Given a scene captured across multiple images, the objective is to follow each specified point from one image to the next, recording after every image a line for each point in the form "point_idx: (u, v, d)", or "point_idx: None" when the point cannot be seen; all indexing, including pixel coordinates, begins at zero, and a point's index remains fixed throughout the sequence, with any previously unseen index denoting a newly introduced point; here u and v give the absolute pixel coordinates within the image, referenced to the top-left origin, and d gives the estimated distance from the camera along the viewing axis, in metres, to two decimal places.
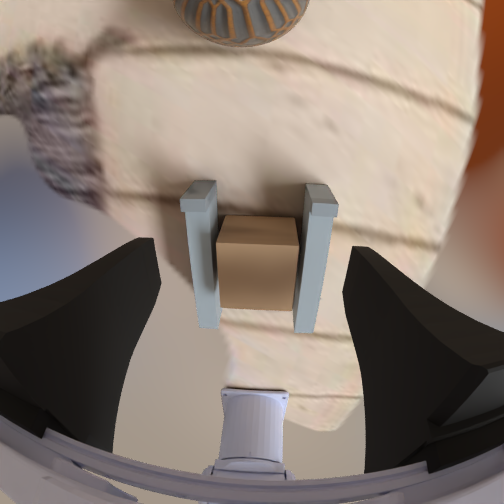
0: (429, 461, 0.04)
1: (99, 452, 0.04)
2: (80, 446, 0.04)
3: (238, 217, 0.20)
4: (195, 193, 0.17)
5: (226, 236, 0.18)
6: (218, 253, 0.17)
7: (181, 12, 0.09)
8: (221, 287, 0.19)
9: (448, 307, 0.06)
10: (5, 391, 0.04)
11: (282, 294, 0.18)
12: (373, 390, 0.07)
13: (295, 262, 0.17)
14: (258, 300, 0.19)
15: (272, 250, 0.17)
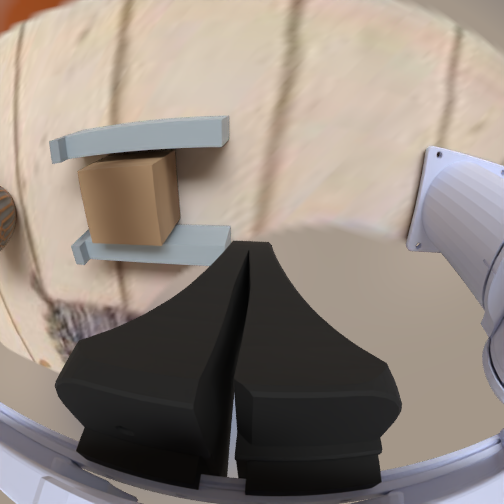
0: (246, 481, 0.04)
1: None
2: None
3: None
4: None
5: None
6: (101, 241, 0.17)
7: None
8: (135, 242, 0.16)
9: (307, 309, 0.06)
10: (131, 442, 0.04)
11: (129, 178, 0.14)
12: None
13: (92, 171, 0.14)
14: (142, 205, 0.15)
15: (86, 195, 0.15)
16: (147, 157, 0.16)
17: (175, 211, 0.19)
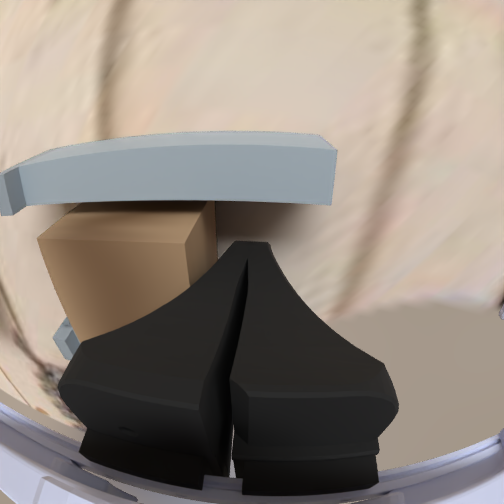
0: (243, 480, 0.04)
1: None
2: (80, 446, 0.04)
3: None
4: None
5: None
6: None
7: None
8: None
9: (304, 309, 0.06)
10: (134, 443, 0.04)
11: (136, 264, 0.07)
12: None
13: (62, 242, 0.07)
14: None
15: (58, 280, 0.08)
16: (167, 209, 0.09)
17: None
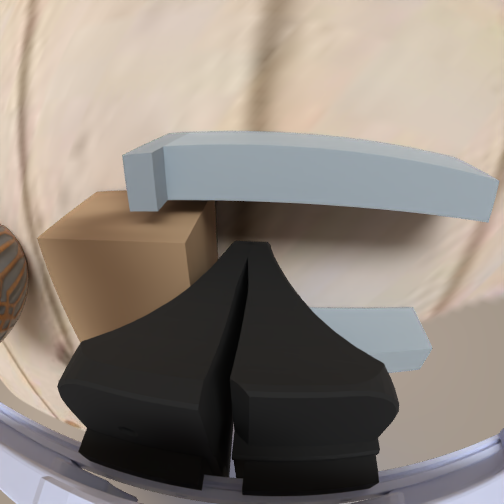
0: (243, 480, 0.04)
1: None
2: (80, 446, 0.04)
3: None
4: None
5: None
6: None
7: None
8: None
9: (305, 309, 0.06)
10: (134, 443, 0.04)
11: (136, 264, 0.07)
12: None
13: (62, 242, 0.07)
14: None
15: (58, 280, 0.08)
16: (167, 209, 0.09)
17: None
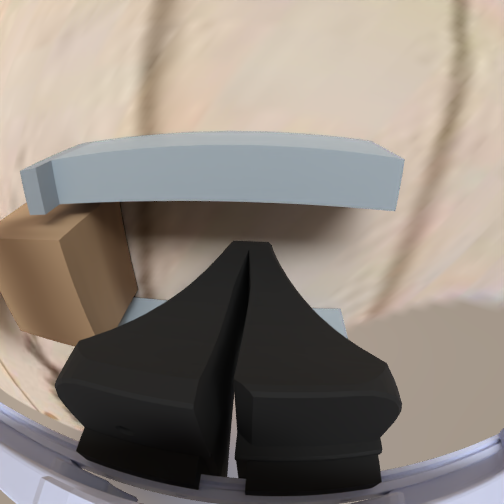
0: (246, 480, 0.04)
1: None
2: None
3: None
4: None
5: None
6: (29, 331, 0.10)
7: None
8: (68, 341, 0.09)
9: (307, 309, 0.06)
10: (131, 442, 0.04)
11: (35, 258, 0.07)
12: None
13: None
14: (62, 298, 0.08)
15: None
16: (68, 212, 0.09)
17: (126, 286, 0.12)
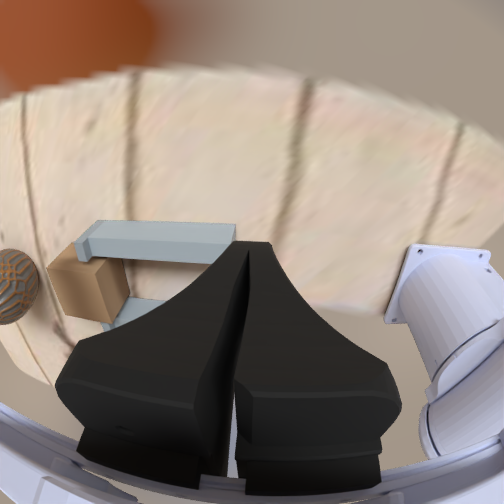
0: (246, 480, 0.04)
1: None
2: None
3: None
4: None
5: None
6: (70, 315, 0.20)
7: (16, 320, 0.20)
8: (93, 319, 0.20)
9: (307, 309, 0.06)
10: (131, 442, 0.04)
11: (82, 280, 0.18)
12: None
13: (56, 270, 0.18)
14: (94, 297, 0.19)
15: (55, 284, 0.19)
16: (95, 257, 0.20)
17: (123, 291, 0.22)
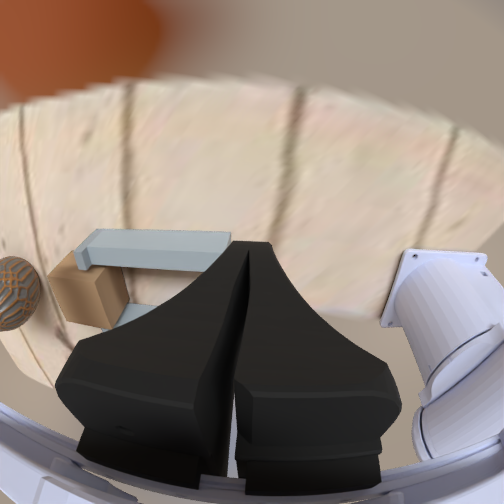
0: (246, 480, 0.04)
1: None
2: None
3: None
4: None
5: None
6: (72, 321, 0.21)
7: (19, 326, 0.21)
8: (94, 325, 0.21)
9: (307, 309, 0.06)
10: (131, 442, 0.04)
11: (82, 287, 0.19)
12: None
13: (57, 278, 0.19)
14: (94, 304, 0.19)
15: (56, 292, 0.19)
16: (95, 265, 0.20)
17: (123, 298, 0.23)
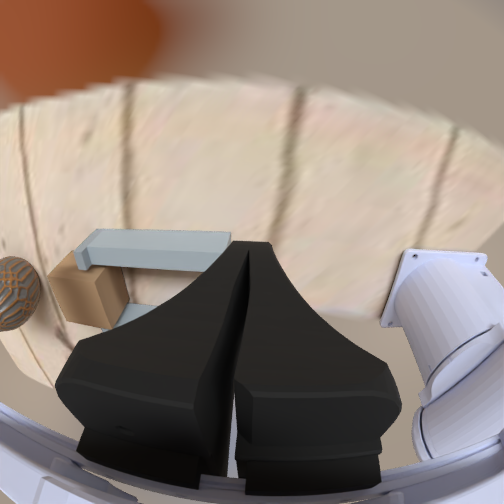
0: (246, 480, 0.04)
1: None
2: None
3: None
4: None
5: None
6: (72, 321, 0.21)
7: (19, 326, 0.21)
8: (94, 325, 0.21)
9: (307, 309, 0.06)
10: (131, 442, 0.04)
11: (82, 287, 0.19)
12: None
13: (57, 278, 0.19)
14: (94, 304, 0.19)
15: (56, 292, 0.19)
16: (95, 265, 0.20)
17: (123, 298, 0.23)
